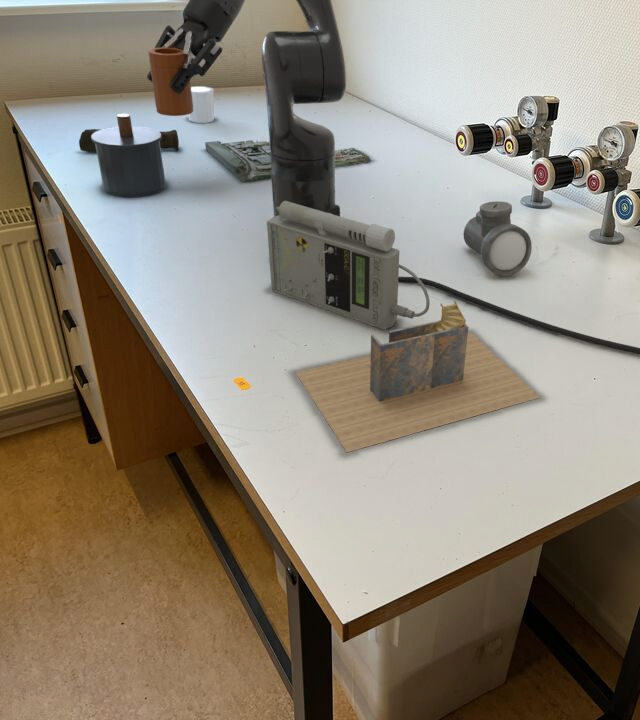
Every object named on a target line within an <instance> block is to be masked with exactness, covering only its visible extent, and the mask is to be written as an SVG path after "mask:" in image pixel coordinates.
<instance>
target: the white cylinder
mask: <svg viewBox="0 0 640 720" xmlns="http://www.w3.org/2000/svg"><path fill="white" fill-rule="evenodd" d="M191 93H192V101H193V112H192V113H191V114H188V115H187V116H188V120H189V121H190V122H192V123H198V124H205V123H206V124H207V123H211V122H213V121H215V89H214V88H212V87H210V86H203V85H191Z"/></svg>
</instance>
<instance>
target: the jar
mask: <svg viewBox="0 0 640 720" xmlns="http://www.w3.org/2000/svg"><path fill="white" fill-rule="evenodd" d="M147 53H148V54H147V55H148V62H149V69H150V70H151V76H152V82H151V84H152V89H153V95H154V105H155V110H156V113H157V114H160V115H163V116H168V117H182V116H188V114H191V113H192V112H193V101H192V93H191V86H192V85H191V80H190V81H189V82H188V84H187V86H186V87H185V89H184V90H183V91H182V93H181V94H178V93H176V92H175V91H174V90H172V89H171V88H170V86H169V85H170V83H171V81H172V80H173V78H174V76H175V75H176V73H177V72H178V70H179V69H180V68H182V64H183V61H184V58H185V56H184V53H183V50H180V49H177V48H175V47H174V48H167V47H160V48H155V47H153V48H150V49H148V50H147ZM182 69H183V68H182Z"/></svg>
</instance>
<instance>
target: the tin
mask: <svg viewBox="0 0 640 720" xmlns="http://www.w3.org/2000/svg"><path fill="white" fill-rule="evenodd" d="M95 146H96V151H97V152H96V156H97V161H98V168H99V172H100V177H101V183H102V187H103V191H104V192H105V193H106V194H109V195H111V196H115V197H121V198H140V197H146V196H147V197H148V196H152V195H155V194H158V193H160V192H162V191H163V190H164V189H165V188H166V176H165V170H164V163H163V155H162V149H161V148H160V141H158V142H157V143H154V144H152V145H148V146H143V147H136V148H111V147H105V146H100V145H97V144H95Z"/></svg>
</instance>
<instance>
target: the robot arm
mask: <svg viewBox="0 0 640 720" xmlns="http://www.w3.org/2000/svg"><path fill="white" fill-rule="evenodd" d="M245 1H246V0H188V1H187V2H186V4H185V6H184V7H183V9H182V10H181V16H182V18H183V23H182V24H181V25H180V26H179V27H177V29H174V28H173V27H172V26H171V25H166V26H165V28H164V30H163V31H162V33H161V35H160V37H159V38H158V40H157V42H156V44H155V46H154V48H160V47H167V48H177V49H180V50H183V53H184V56H185V58H184V61H183V64H182V68H183V69H182V68H180V69H179V70H178V72H177V73H176V75H175V76H174V78H173V80H172V81H171V83H170V85H169V86H170V88H171V89H172V90H174V91H175V92H176V93H178V94H181V93H182V91H183V90H184V89H185V87H186V86H187V84H188V82H189V81H190V82H191V79H192V78H196V77H197V76H198V75H199V76H200V77H204V76H205V75H206V73H208V71H209V70H210V68H211V67H212V65H213V64H214V63H215V62H216V60H217V59H218V58H219V57H220V55H221V54H222V53H223V48H222V47H221V45H220V44H219V43H221V41H222V40H223V39H224V37H225V36H226V34H227V32H228V31H229V29H230V28H231V26H232V25H233V23H234V21H235V20H236V18H237V17H238V15H239V14H240V12H241V10H242V9H243V6H244V4H245ZM295 1H296V3H297V4H298V6H299V9H300V10H301V13H302V15H303V18H304V20H305V22H306V25H307V28H308V30H273V31H269V32H267V34H265V36H264V37H263V40H262V44H261V66H262V75H263V76H262V77H263V84H264V91H265V92H264V93H265V101H266V113H267V125H268V127H267V128H268V139H269V142H270V158H271V177H272V178H271V190H272V191H271V192H272V193H271V194H272V208H273V217H275V216H278V215H279V212H277V209H276V208H277V207H280V205H281V203H282V202H283V201H288V202H291V203H295V204H298V205H302V206H305V207H309V208H312V209H315V210H319V211H322V212H326V213H331V214H333V215H336V216H340V217H341V207H340V205H338V204H336V167H335V152H336V142H335V141H336V140H335V135H334V132H333V131H332V130H330V128H328V127H326V126H325V125H322V124H318V123H315V122H313V121H309V120H307V119H303V118H302V117H300V116H299V115H297V114H295V112H294V105H306V104H307V105H308V104H309V105H310V104H329V103H336V102H339V101H341V100H342V99H343V98H344V96H345V93H346V89H347V67H346V66H347V65H346V59H345V53H344V49H343V43H342V38H341V35H340V31H339V27H338V23H337V22H338V21H337V19H336V15H335V14H336V13H335V10H334V6H333V2H332V1H333V0H295ZM203 63H204V64H203ZM146 78H147V80H148V81H149V82H151V83H152V76H151V69H150V70H149V72H148V73H147V76H146ZM418 278H419V279H420V280H421V282H422V283H423V285H424V286H428V287H431V288H434V289H437V290H439V291H442V292H445V293H448V294H449V295H451V296H454V297H456V298H458V299H460V300H464V301H466V302H468V303H471V304H474V305H477V306H479V307H482V308H484V309H487V310H490V311H492V312H495V313H497V314H499V315H503V316H506V317H507V318H508V317H509V318H511V319H514V320H516V321H520V322H523V323H525V324H528V325H530V326H534V327H537V328H540V329H543V330H545V331H549V332H552V333H555V334H558V335H562V336H565V337H568V338H572V339H574V340H575V339H576V340H579V341H582V342H586V343H590V344H593V345H597V346H601V347H604V348H605V347H606V348H610V349H613V350H617V351H622V352H626V353H631V354H636V355H640V347H638V346H633V345H629V344H628V345H627V344H624V343H620V342H615V341H611V340H607V339H602V338H599V337H594V336H591V335H587V334H584V333H580V332H576V331H574V330H569V329H566V328H563V327H560V326H556V325H553V324H551V323H547V322H543V321H541V320H539V319H535V318H532V317H529V316H527V315H524V314H520V313H518V312H515V311H512V310H509V309H507V308H503V307H501V306H498V305H496V304H493V303H491V302H488V301H485V300H483V299H480V298H477V297H475V296H472V295H470V294H467V293H464V292H462V291H460V290H458V289H455V288H452V287H450V286H448V285H445V284H442V283H439V282H437V281H433V280H430V279H427V278H422V277H418ZM398 283H403V284H404V283H409V284H419V283H418V282H417V280H416V279H415V278H414V277H413V276H398Z"/></svg>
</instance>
